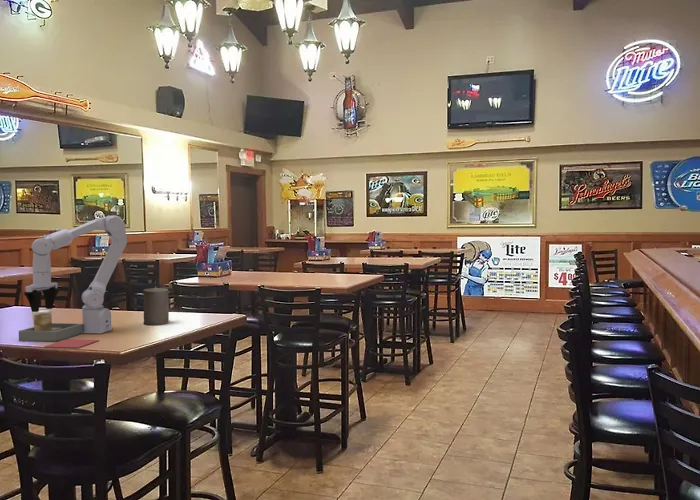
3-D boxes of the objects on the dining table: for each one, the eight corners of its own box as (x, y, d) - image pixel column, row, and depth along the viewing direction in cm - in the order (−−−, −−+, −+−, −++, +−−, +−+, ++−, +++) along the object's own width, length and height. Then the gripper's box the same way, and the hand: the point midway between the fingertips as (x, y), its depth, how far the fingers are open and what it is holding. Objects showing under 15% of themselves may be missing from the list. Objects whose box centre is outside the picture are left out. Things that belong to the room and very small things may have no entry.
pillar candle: (138, 324, 238) (137, 286, 237) (156, 320, 247) (156, 284, 246) (156, 326, 233) (155, 288, 233) (174, 322, 242) (173, 285, 241)
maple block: (51, 330, 215) (51, 313, 215) (44, 332, 211) (44, 315, 211) (41, 330, 216) (41, 313, 215) (34, 332, 212) (33, 315, 211)
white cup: (30, 331, 225) (29, 312, 224) (34, 328, 231) (34, 310, 231) (50, 330, 226) (49, 311, 226) (54, 327, 233) (53, 309, 233)
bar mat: (99, 341, 205) (99, 339, 205) (78, 348, 193) (78, 347, 193) (66, 340, 207) (66, 339, 207) (44, 347, 195) (44, 346, 195)
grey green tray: (83, 333, 220) (83, 323, 220) (56, 341, 204) (55, 331, 204) (48, 332, 222) (48, 323, 222) (18, 340, 206) (18, 330, 206)
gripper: (45, 270, 220) (45, 307, 221) (17, 273, 206) (17, 312, 207) (62, 270, 219) (62, 307, 220) (36, 273, 205) (36, 313, 205)
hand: (42, 310), depth 213 cm, fingers open, 7 cm apart
